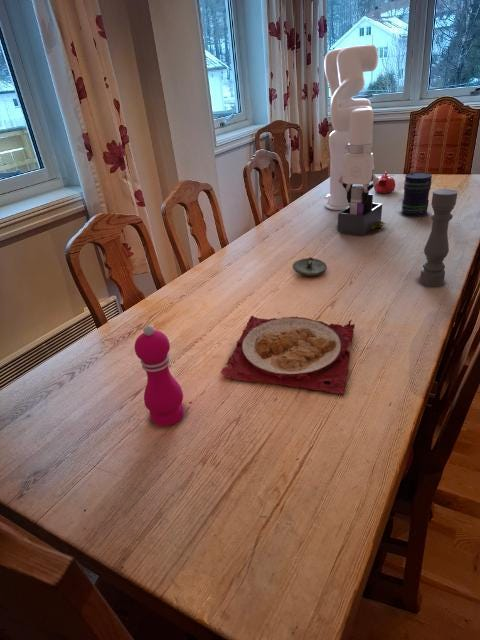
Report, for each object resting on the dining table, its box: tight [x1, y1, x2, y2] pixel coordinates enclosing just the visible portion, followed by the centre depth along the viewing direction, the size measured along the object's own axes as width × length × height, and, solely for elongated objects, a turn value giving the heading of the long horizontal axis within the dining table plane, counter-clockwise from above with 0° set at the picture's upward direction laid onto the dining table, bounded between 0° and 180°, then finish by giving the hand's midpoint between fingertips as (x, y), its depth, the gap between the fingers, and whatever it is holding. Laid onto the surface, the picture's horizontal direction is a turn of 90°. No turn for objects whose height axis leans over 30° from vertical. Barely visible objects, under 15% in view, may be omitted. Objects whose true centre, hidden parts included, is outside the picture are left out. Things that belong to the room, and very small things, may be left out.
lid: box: [292, 257, 328, 277], centre depth 133 cm, size 11×10×5 cm
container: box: [350, 185, 364, 215], centre depth 157 cm, size 5×5×15 cm
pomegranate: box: [373, 171, 396, 194], centre depth 202 cm, size 10×10×9 cm
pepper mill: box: [134, 324, 185, 427], centre depth 77 cm, size 7×7×20 cm
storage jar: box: [400, 171, 433, 218], centre depth 169 cm, size 10×10×15 cm
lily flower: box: [372, 220, 386, 229], centre depth 163 cm, size 12×12×5 cm
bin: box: [337, 193, 383, 236], centre depth 160 cm, size 17×10×12 cm, turn 142°
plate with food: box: [220, 315, 356, 395], centre depth 96 cm, size 24×26×4 cm
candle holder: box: [419, 188, 458, 288], centre depth 114 cm, size 6×6×25 cm
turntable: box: [342, 224, 382, 236], centre depth 164 cm, size 16×16×1 cm
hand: (357, 201), depth 156 cm, fingers closed on container, 4 cm apart
